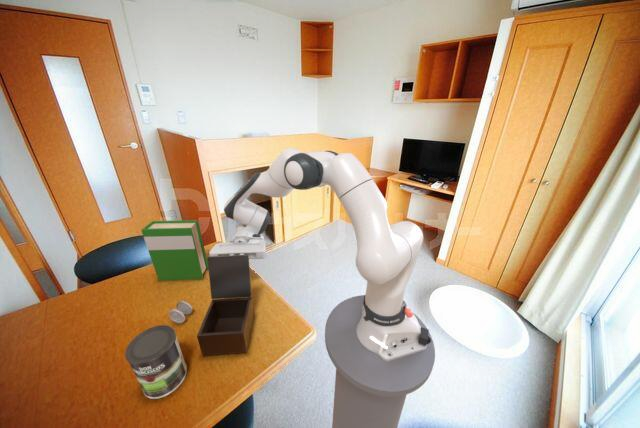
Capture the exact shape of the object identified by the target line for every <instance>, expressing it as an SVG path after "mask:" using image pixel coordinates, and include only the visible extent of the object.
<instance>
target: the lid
mask: <svg viewBox="0 0 640 428" xmlns="http://www.w3.org/2000/svg"><path fill="white" fill-rule="evenodd" d="M206 258H207V262H208V269H207V270H208V278H209V287H210V297H211V300H213V299H231V298H248V297H251V298H252V284H251V283H252V282H251V269H250V259H249V255H230V256H206Z"/></svg>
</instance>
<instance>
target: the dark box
mask: <svg viewBox="0 0 640 428" xmlns="http://www.w3.org/2000/svg"><path fill="white" fill-rule="evenodd" d="M254 319H255V313H254V306H253V299H252V296H251V297H238V298H220V299H211V301H210V304H209V306H208V309H207V311H206V313H205V316H204V318H203V320H202V323H201V324H200V328H199V330H198V332H197V335H196V339H197V342H198V345H199V348H200V352H201V355H202V357H204V358H205V357H206V358H207V357H216V356H217V357H218V356H232V355H243V354H248V349H249V345H250V340H251V334H252V329H253V324H254Z"/></svg>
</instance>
